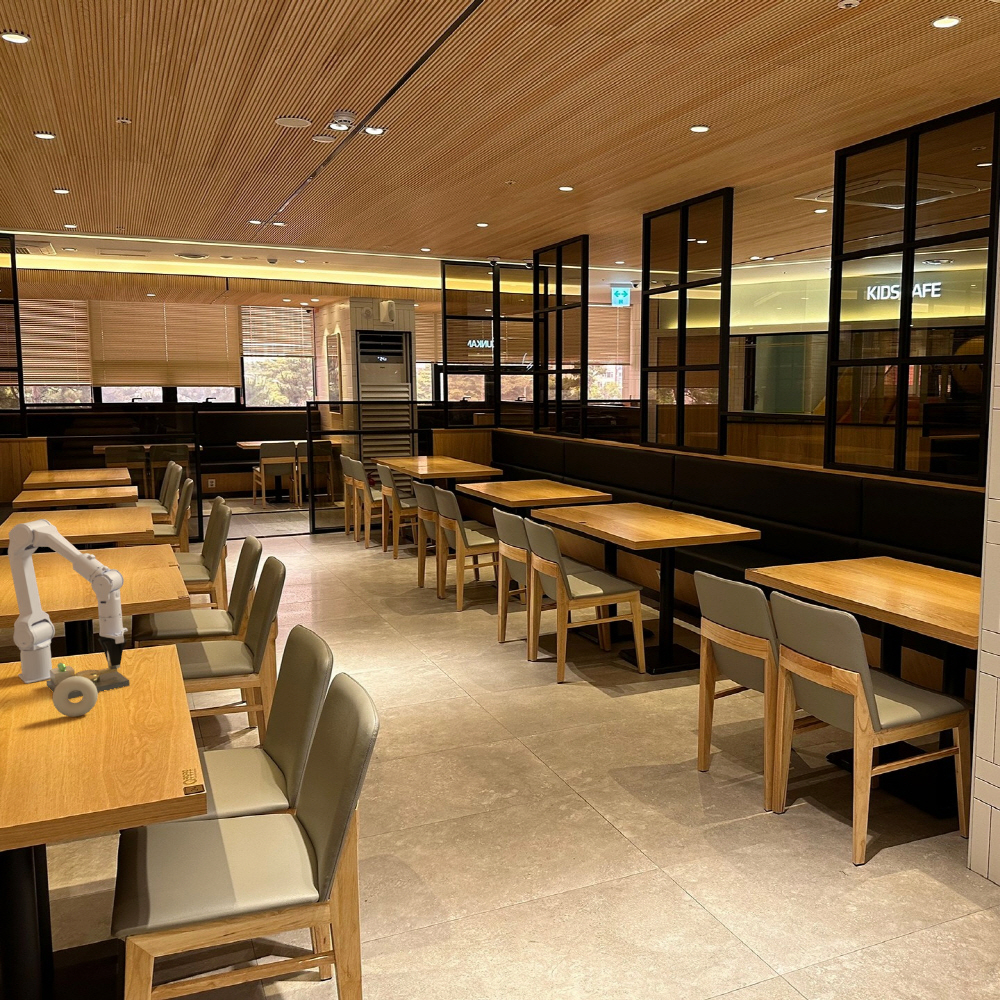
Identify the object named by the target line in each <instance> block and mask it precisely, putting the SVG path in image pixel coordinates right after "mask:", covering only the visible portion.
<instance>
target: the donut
mask: <svg viewBox="0 0 1000 1000" xmlns="http://www.w3.org/2000/svg"><path fill="white" fill-rule="evenodd" d="M73 690H79V691H81V692H82V694H83V696H82V699H80V700H79V701H77V702H72V701H70V700H69V699H68V694H69V693H70V692H71V691H73ZM98 695H99V692H97V688H96V686H95V685H94V683H93V682H92V681H90V680H89V679H88V678H85V677H82V676H73V677H69V678H66V679H65V680H63V681H61V682H60V683H59V684H58V685H57V687H56V688H55V690H54V692H52V703H53V707H54V708H55V709H56V711H58V712H59V713H60V714H61V715H63V716H66V717H69V718H70V717H72V718H74V717H75V718H77V717H80V716H85V715H86V714H88V713H89V712H90V711H92V709H93V708H94V707H95V705H96V704H97V701H98Z"/></svg>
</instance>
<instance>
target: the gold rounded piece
mask: <svg viewBox="0 0 1000 1000" xmlns="http://www.w3.org/2000/svg"><path fill="white" fill-rule="evenodd" d="M107 657H108V662H107V668H102V669H86V670H81V671H78V672H75V676H82V677H85V678H88V679H89V680H90V681H92V682H96V681H98V680H100V675H102V674H107V673H112V672H117V671H118V669H120V668H121V664H120V665H116V666H112V665H111V662H110V658H109V654H108V651H107Z"/></svg>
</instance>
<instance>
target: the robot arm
mask: <svg viewBox="0 0 1000 1000" xmlns="http://www.w3.org/2000/svg"><path fill="white" fill-rule="evenodd" d="M8 538H9V539H8V540H9V544H8V549H7V555H8V561H9V566H10V571H11V576H12V581H13V585H14V592H15V597H16V601H17V606H18V607H17V608H18V612H19V615H18V617H17V619H16V620H15V622H14V624H13V626H14V633H13V637H12V638H13V643H14V644H15V645H16V646H17V648H18V649H19V650H20V665H21V666H20V668H21V673H18V674H17V676H18V677H19V678H20V680H21V681H22V682H23V683H24V684H31V683H35V682H41V681H45V680H46V681H47V680H51V679H50V669H53V664H52V651H51V643H52V639H53V638H54V636H55V634H56V630H55V629H56V628H55V625H54V624H53V622H52V620H51V619H50V614H48V613H47V612H46V611H44V610H43V609H42V604H41V598H40V594H39V593H40V591H39V588H38V583H37V577H36V572H35V568H34V561H33V554H35V552H36V551H37V549H38V548H39V547H41V548H43V547H44V548H45V547H48V548H50V549H51V550H53V551H55V552H56V553H58V555H60V556H62V557H63V558H65V559H66V560H67V561H69V562H70V563H72V569H73V571H74V572H76V573H77V574H79V576H81V577H82V578H84V579H85V581H87V582H89V583H90V584H91V585H90V586H91V589H92V590H93V592H94V593H95V595H96V600H97V608H98V623H99V636H100V637H98V638H97V640H98V642H99V644H100V645H101V648H102V649H103V652H104V656H105V659H106V661H107V663H108V657H107V651H108V654H109V658H110V662H111V665H112V666H116V665H120V666H121V662H122V657H123V651H124V648H125V646H126V644H127V641H128V640H127V639H126V638H124V637H125V636H124V633H125V632H128V628H127V627H124V626H123V612H122V601H121V600H122V599H121V598H122V597H121V588H122V587H123V585H124V576H123V574H122V573H121V572H120V571H119V570H118V569H115V568H112V569H111V568H109V567H108V565H104V564H103V563H102V562H101V561H99V560H98V559H97V558H96V555H94V554H93V553H88V552H86V553H82V552H81V551H80V550H79V549H78V548H76V547H75V546H74V545H73V544H72V543H71V542H70V541H68V539H66V538H65V537H64V535H62V534H61V533H60V532H59V531H58V528H57V526H55V524H54V525H53V524H52V523H51V522H50V521H48V519H45V518H40V519H37V520H33V521H28V522H24V523H17V524H15V526H13V527H12V528H11V529H10V530H9V532H8Z"/></svg>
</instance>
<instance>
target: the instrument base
mask: <svg viewBox="0 0 1000 1000" xmlns="http://www.w3.org/2000/svg"><path fill="white" fill-rule="evenodd" d="M75 671H76V670H75V669H74V668H73V667H72V666H71V665H66V664H65V663H63V662H59V663H58V664H57V667H55V668H52V669H50V679H48V680H46V687H47V686H48V687H47V688H48V689H49V688H50V689H51V690H52V691H53V692H54V690H55V688H56V687H57V685H58V684H59V683H60V682H61V681H63V680H65V679H66V678H69V677H73V676H75V674H76V672H75ZM93 683H94V685H95V686H96V688H97V692H98V693H100V692H99V691H103V692H105V691H104V690H107V691H111V690H110V689H112V690H115V689H114V688H116V689H119V688H118V687H121V688H125V686H126V687H130V679H129V678H127V677H126V676H124V675H123V674H121V672H119V671H118V670H117V672H112V673H107V674H102V675H100V680H98V681H96V682H93ZM123 686H124V687H123ZM50 689H49V690H50ZM51 690H50V691H51ZM52 691H51V692H52ZM53 692H52V693H53ZM79 696H80V697H83V694H82V692H81V691H79V690H73V691H71V692H70V693H69V694H68V699H74V698H78V697H79Z"/></svg>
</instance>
